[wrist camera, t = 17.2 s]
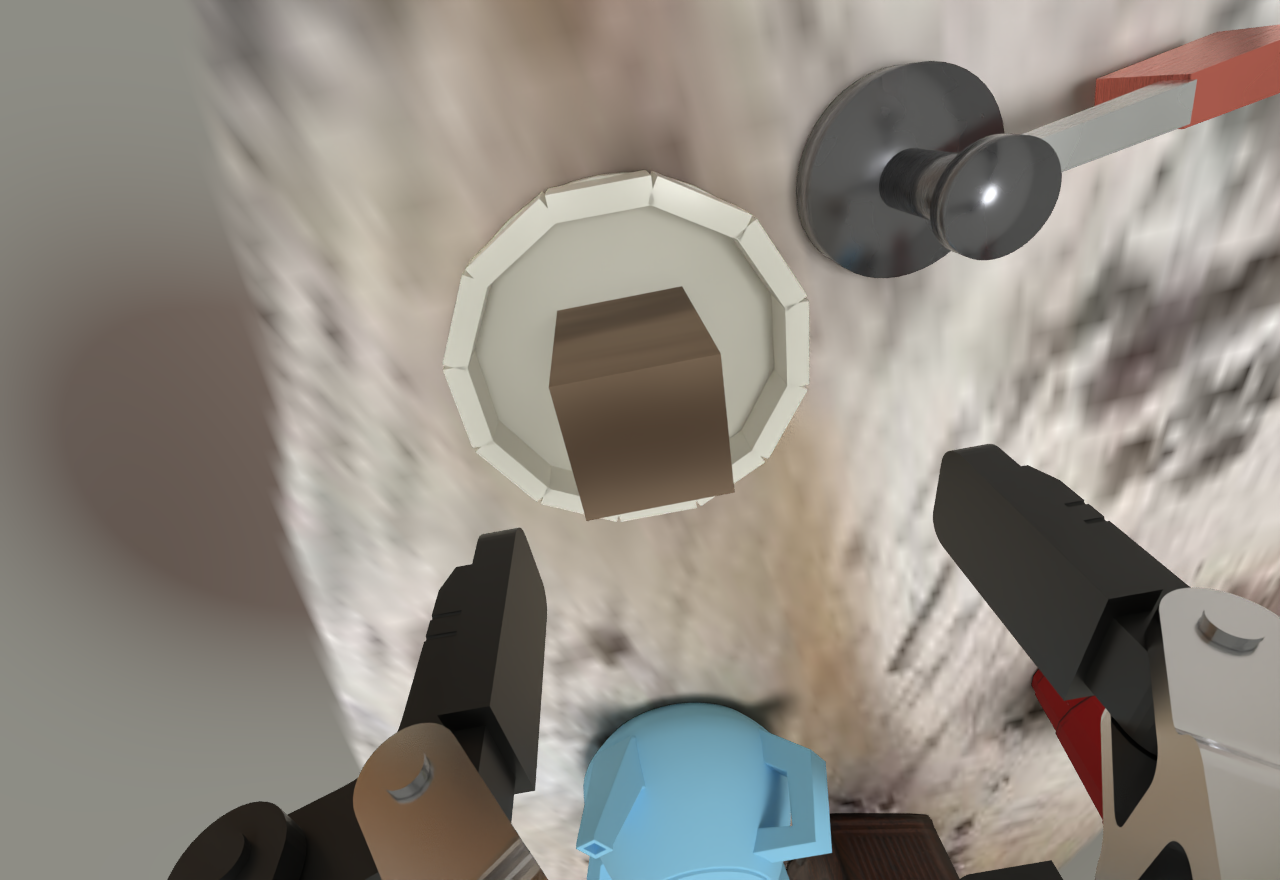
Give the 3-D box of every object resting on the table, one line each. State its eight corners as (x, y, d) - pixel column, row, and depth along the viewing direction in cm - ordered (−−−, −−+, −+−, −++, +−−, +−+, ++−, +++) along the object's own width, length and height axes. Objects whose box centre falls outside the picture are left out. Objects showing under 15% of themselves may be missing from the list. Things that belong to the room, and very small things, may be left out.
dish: (386, 338, 23) (365, 362, 20) (654, 79, 19) (664, 75, 17) (611, 531, 29) (613, 566, 27) (845, 365, 25) (871, 390, 23)
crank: (941, 183, 21) (1007, 197, 17) (939, 140, 20) (1007, 146, 17) (1208, 81, 20) (1329, 77, 16) (1216, 31, 19) (1345, 17, 16)
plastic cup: (1019, 626, 36) (1193, 832, 26) (1175, 610, 37) (1405, 804, 27) (973, 725, 42) (1101, 926, 31) (1109, 709, 42) (1278, 901, 32)
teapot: (765, 800, 45) (814, 979, 36) (578, 815, 43) (578, 1006, 34) (803, 679, 37) (877, 868, 28) (576, 691, 35) (575, 897, 26)
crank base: (761, 161, 21) (833, 183, 15) (934, 13, 19) (1094, -30, 13) (849, 302, 24) (937, 366, 18) (1004, 188, 22) (1158, 217, 16)
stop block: (557, 310, 22) (548, 387, 16) (682, 286, 22) (721, 353, 16) (584, 419, 24) (586, 521, 18) (696, 398, 24) (734, 492, 18)
